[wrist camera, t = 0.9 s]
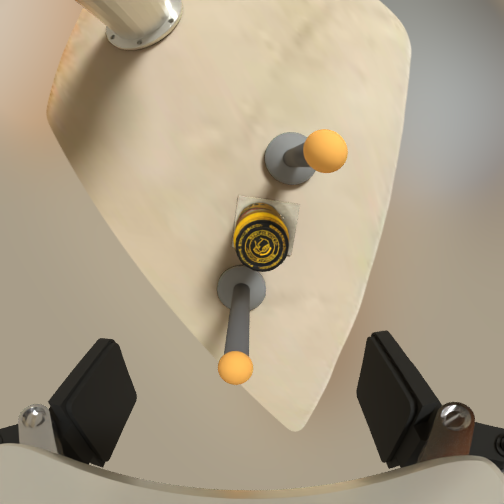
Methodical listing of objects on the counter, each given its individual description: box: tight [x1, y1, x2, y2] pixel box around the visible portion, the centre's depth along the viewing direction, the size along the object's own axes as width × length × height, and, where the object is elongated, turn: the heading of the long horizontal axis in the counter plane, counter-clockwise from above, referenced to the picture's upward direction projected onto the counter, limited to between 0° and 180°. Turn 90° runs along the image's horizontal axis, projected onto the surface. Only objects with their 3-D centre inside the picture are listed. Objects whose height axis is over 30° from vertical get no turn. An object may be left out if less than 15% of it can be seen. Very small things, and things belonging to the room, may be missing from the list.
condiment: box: [232, 195, 300, 272], centre depth 33 cm, size 7×8×12 cm
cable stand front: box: [265, 129, 348, 185], centre depth 26 cm, size 7×7×20 cm
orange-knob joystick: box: [217, 265, 266, 385], centre depth 32 cm, size 7×7×20 cm
